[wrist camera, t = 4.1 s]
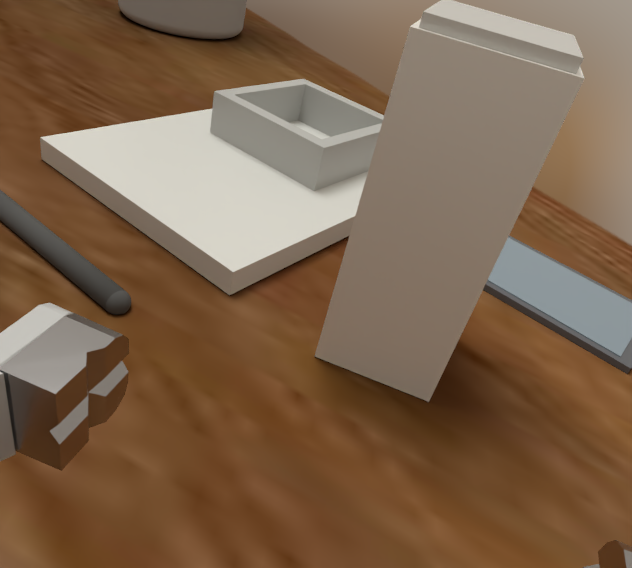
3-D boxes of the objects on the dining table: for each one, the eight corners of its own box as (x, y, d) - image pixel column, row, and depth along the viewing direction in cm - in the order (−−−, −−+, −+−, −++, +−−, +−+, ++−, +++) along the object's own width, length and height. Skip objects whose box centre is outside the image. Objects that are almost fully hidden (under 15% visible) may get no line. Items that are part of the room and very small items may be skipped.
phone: (620, 382, 25) (631, 367, 25) (389, 245, 31) (395, 230, 30) (650, 328, 30) (660, 314, 29) (444, 216, 35) (449, 203, 35)
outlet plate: (229, 295, 23) (241, 218, 21) (41, 159, 29) (36, 88, 27) (444, 187, 38) (464, 135, 36) (289, 110, 43) (299, 61, 41)
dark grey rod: (136, 313, 22) (137, 293, 21) (114, 324, 21) (114, 303, 20) (-12, 191, 26) (-15, 172, 26) (-35, 196, 26) (-38, 176, 25)
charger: (430, 402, 21) (594, 62, 14) (314, 356, 22) (414, 10, 15) (445, 332, 25) (581, 36, 18) (347, 295, 25) (439, -5, 18)
